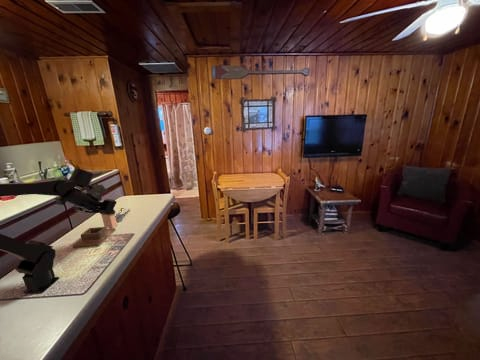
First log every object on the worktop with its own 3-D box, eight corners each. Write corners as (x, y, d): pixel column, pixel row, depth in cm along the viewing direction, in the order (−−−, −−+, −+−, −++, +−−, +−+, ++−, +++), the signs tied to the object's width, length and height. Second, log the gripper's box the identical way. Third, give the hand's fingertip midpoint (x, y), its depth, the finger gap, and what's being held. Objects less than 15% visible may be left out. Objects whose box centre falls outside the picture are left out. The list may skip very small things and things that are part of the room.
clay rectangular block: (113, 228, 90) (106, 203, 87) (104, 227, 92) (98, 202, 88) (117, 226, 92) (111, 201, 89) (109, 225, 94) (103, 200, 90)
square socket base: (98, 246, 89) (96, 237, 88) (73, 248, 89) (70, 239, 88) (115, 230, 103) (113, 222, 102) (93, 231, 102) (91, 224, 101)
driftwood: (121, 223, 111) (120, 219, 111) (108, 225, 110) (107, 221, 110) (132, 208, 131) (132, 206, 130) (121, 210, 130) (120, 207, 129)
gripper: (107, 181, 79) (134, 197, 92) (73, 179, 85) (103, 195, 98) (92, 207, 74) (123, 220, 87) (58, 204, 80) (92, 216, 93)
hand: (110, 212), depth 91 cm, fingers closed on clay rectangular block, 5 cm apart
